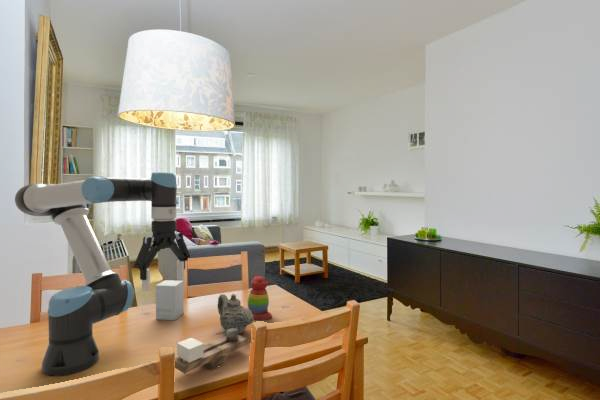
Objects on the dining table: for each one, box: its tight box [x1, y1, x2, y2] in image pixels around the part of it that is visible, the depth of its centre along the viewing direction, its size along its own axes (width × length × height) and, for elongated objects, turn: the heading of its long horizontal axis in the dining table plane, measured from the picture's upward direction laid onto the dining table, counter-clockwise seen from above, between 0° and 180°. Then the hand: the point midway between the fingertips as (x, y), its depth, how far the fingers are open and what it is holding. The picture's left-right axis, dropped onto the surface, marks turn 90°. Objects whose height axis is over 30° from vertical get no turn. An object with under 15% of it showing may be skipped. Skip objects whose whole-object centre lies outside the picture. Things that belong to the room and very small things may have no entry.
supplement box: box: [155, 279, 185, 321], centre depth 150 cm, size 9×9×15 cm
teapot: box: [217, 293, 255, 335], centre depth 136 cm, size 21×12×15 cm, turn 48°
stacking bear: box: [247, 275, 273, 321], centre depth 152 cm, size 11×10×18 cm
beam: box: [174, 328, 248, 375], centre depth 111 cm, size 24×7×8 cm, turn 141°
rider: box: [176, 337, 205, 363], centre depth 104 cm, size 5×6×6 cm
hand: (164, 284), depth 111 cm, fingers open, 13 cm apart
